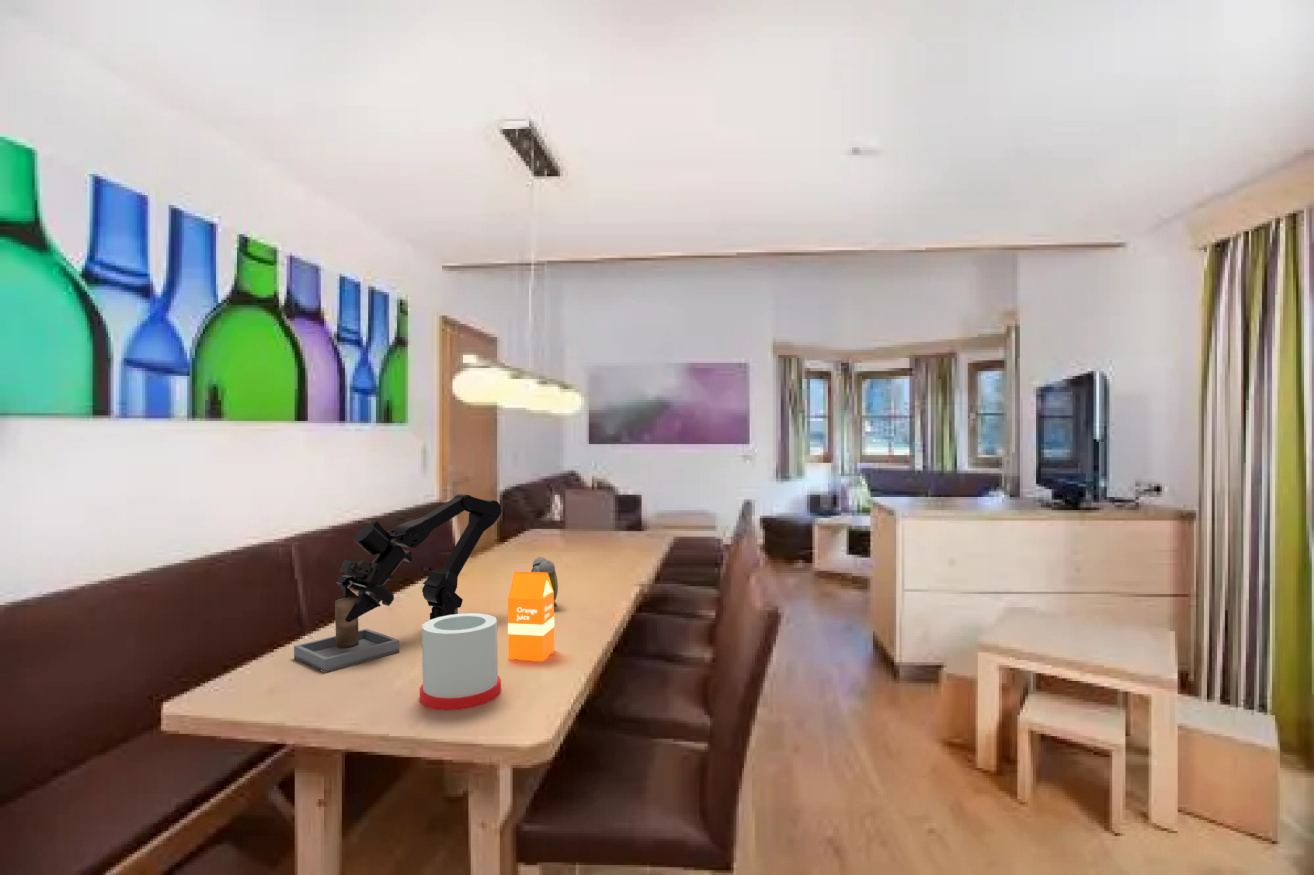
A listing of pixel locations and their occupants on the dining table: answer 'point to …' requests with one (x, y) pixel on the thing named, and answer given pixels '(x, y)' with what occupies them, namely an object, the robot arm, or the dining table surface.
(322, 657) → the tray
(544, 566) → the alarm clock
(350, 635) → the brown upright cylinder
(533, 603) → the orange juice
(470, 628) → the container
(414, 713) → the dining table surface
